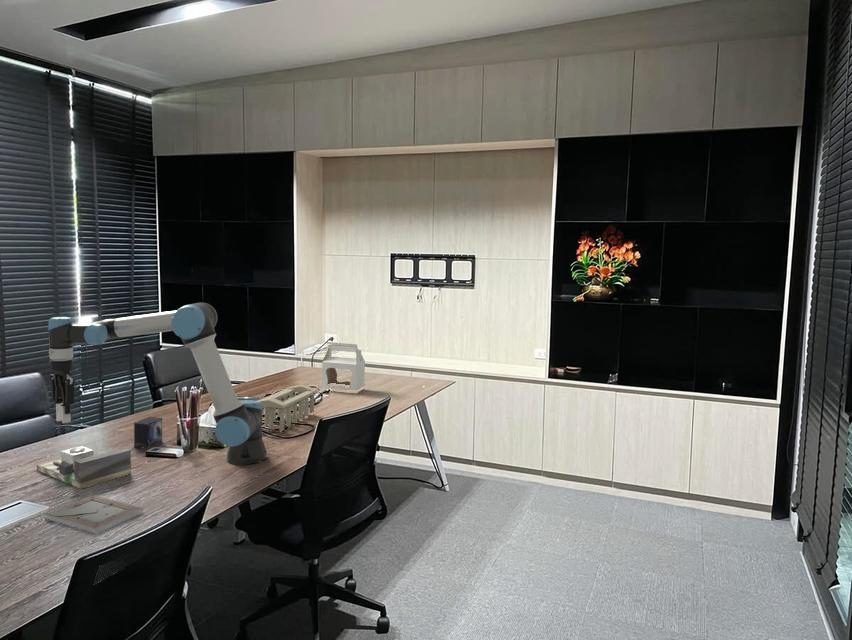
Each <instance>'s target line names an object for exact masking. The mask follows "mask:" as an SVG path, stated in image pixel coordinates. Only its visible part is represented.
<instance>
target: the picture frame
mask: <svg viewBox="0 0 852 640" xmlns="http://www.w3.org/2000/svg"><path fill="white" fill-rule="evenodd" d="M142 512H143V507H142V506H141V507H140V506H136V505H133V504H129V503H125V502H122V501H117V500H114V499H110V498H107V497H103V496H99V495H95V494H93V495H91V496H88V497H85V498H83V499H80V500H78V501H74V502H73V503H70V504H67V505H65V506H62V507H59V508H56V509H53V510H50V511H48V512H45V513H44V514H45V520H48V519H49V520H48V521H51V520H52V522H56V523H58V524H61V523H62V525H64V524H65V526H68V525H69V527H71V526H73V527H72V528H74V527H77V528H76V529H78V528H80V529H79V530H81V529H84V530H87V531H86V532H88V531H90V532H89V533H91V532H93V533H92V534H94V533H97V534H99V533H102V532H103V531H105V529H106V530H107V528H108V529H110V528H112V527H114V526H113V525H115V526H116V524H117V525H119V524H121V523H123V522H125V520H126V521H128V520H130V519H133V518H135V517H137V516H139V515H141V514H143V513H142ZM140 513H141V514H140ZM138 514H139V515H138ZM136 515H137V516H136ZM134 516H135V517H134ZM127 519H128V520H127ZM122 521H123V522H122ZM120 522H121V523H120ZM118 523H119V524H118ZM109 527H110V528H109ZM84 530H83V531H84ZM98 532H99V533H98Z"/></svg>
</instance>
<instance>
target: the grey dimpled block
mask: <svg viewBox="0 0 852 640" xmlns="http://www.w3.org/2000/svg"><path fill="white" fill-rule="evenodd" d="M94 451H95V450H94V449H91V448H89V447H85V446H84V445H81V446H77V447H71V448H68V449H64V450H60V459H61V463H68V464H71V465H72V467H73V468H74V461H75V460H79V459H83V458H87V457H91V456H94V454H95V453H94ZM57 470H59V467H58V468H57Z"/></svg>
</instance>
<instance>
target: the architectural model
mask: <svg viewBox="0 0 852 640" xmlns="http://www.w3.org/2000/svg"><path fill="white" fill-rule="evenodd" d="M295 393H297V395H295ZM318 393H319V391H318V389H317V388H313V387H311V386H308V385H306V384H301V385H296V386H295V385H294V386H290V387H287V388H285V389H283V390H280V391H278V392H275V393H273V394H271V395H268V396H265V397H263V398H261V399H258V400H257V401H258V402H261V404H262V408H263V407H264V425H268V424H269V426H268V429H274V423H273V421H275V420H276V421H277V418H276V417H280V420H279V428H278V429H279V430H280V431H283V430H284V431H285V427H286V426H287V427H289V426H291V427H292V423H296V422H297V423H298V419H303V420H304V416H309V414H310V413H312V412H314V413H315V396H316V394H318ZM276 411H277V412H276ZM291 411H293V414H291ZM303 412H304V415H303ZM276 414H277V415H276ZM284 414H286V418H285V417H284ZM285 420H286V422H285ZM285 423H286V425H285Z"/></svg>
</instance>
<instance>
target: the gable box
mask: <svg viewBox="0 0 852 640" xmlns="http://www.w3.org/2000/svg"><path fill="white" fill-rule="evenodd" d="M332 351H333V352H335V351H336V352H345V353H346V352H347V353H349V352H350V353H355V357H356V358H353V357H351V358H350V357H339V356H332ZM365 366H366V361H365V359H364V356H363V355H362V350H361V349H358V345H357V344H356V343H353V344H352V343H341V342H331V343H330V346H329V347H326V353H325V356H324V357H323V359H322V361H321V389H322V388H332V389H340V390H358V389H360V388H361V387H363V386H364V387H365V377H366V374H365V373H366V370H365V369H366V367H365ZM336 369H337V370H341V371H343V370H344V371H347V370H348V371H350V372H351V377H350V380H348V381H347V380H346V381H338V380H337V379H338V372H337V370H336ZM330 383H336V384H345V385H350V387H349V388H345V387H342V386H332V387H330V386H328V384H330Z"/></svg>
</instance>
